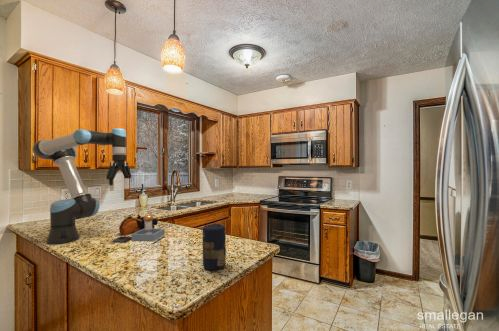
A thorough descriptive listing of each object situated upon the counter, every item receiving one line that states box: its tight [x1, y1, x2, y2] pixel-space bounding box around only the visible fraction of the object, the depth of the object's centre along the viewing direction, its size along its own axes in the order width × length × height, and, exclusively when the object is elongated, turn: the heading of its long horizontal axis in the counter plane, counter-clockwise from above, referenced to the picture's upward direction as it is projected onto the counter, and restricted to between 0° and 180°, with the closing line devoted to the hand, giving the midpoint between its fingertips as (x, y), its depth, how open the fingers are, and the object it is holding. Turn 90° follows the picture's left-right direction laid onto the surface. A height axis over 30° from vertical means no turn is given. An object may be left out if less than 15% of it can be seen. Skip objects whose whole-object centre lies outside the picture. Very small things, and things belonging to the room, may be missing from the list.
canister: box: [202, 223, 227, 271], centre depth 103 cm, size 10×10×18 cm
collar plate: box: [107, 235, 131, 244], centre depth 138 cm, size 10×10×2 cm
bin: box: [130, 228, 166, 245], centre depth 142 cm, size 13×13×5 cm
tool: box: [118, 214, 159, 237], centre depth 157 cm, size 8×23×15 cm, turn 143°
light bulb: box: [142, 214, 154, 234], centre depth 142 cm, size 5×5×13 cm
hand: (119, 189), depth 149 cm, fingers open, 13 cm apart
